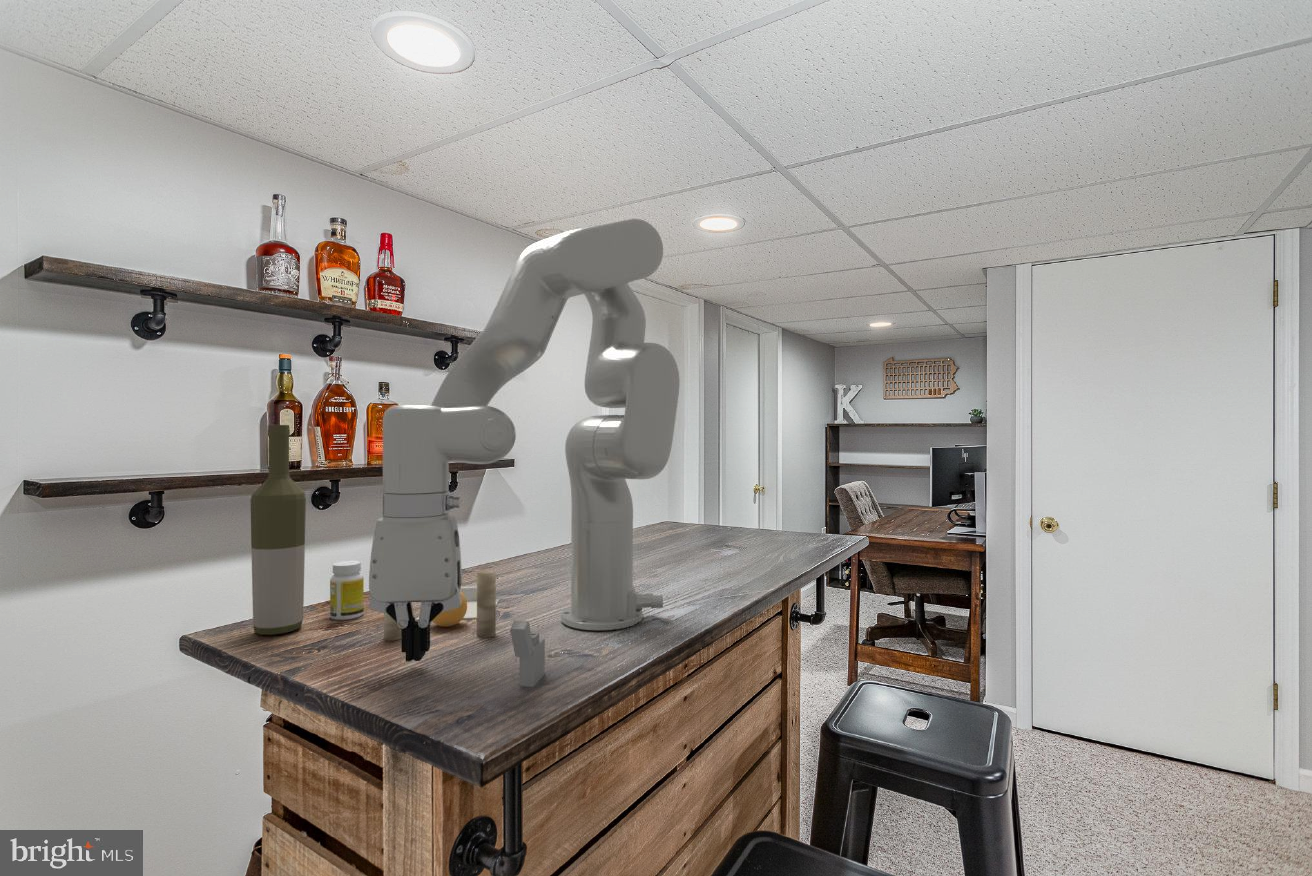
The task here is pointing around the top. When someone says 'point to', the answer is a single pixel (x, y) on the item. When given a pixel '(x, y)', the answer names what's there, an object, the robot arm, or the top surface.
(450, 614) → the ball
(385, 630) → the post
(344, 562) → the supplement bottle
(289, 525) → the bottle
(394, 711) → the top surface
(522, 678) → the lighter
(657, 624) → the top surface
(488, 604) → the post
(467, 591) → the stopper rail
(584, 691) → the top surface
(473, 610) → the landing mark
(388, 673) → the top surface
